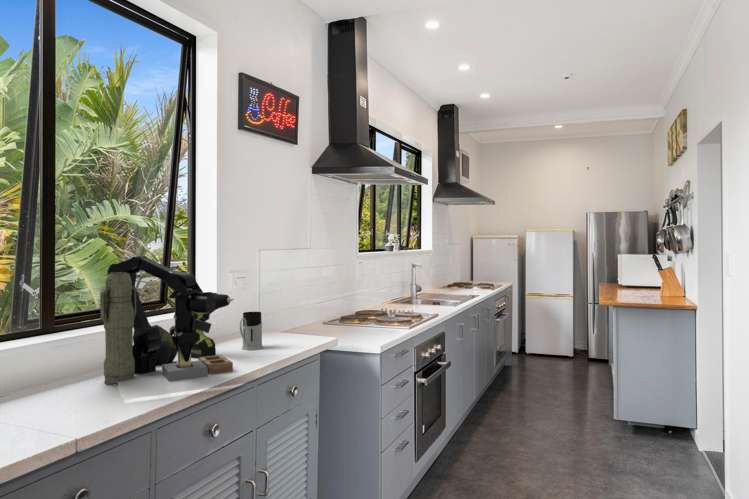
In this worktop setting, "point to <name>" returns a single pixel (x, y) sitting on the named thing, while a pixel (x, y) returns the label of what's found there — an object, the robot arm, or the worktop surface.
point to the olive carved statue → (118, 327)
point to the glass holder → (251, 331)
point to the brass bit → (181, 360)
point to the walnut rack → (217, 364)
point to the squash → (165, 348)
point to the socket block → (184, 371)
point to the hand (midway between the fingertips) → (184, 359)
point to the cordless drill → (205, 344)
